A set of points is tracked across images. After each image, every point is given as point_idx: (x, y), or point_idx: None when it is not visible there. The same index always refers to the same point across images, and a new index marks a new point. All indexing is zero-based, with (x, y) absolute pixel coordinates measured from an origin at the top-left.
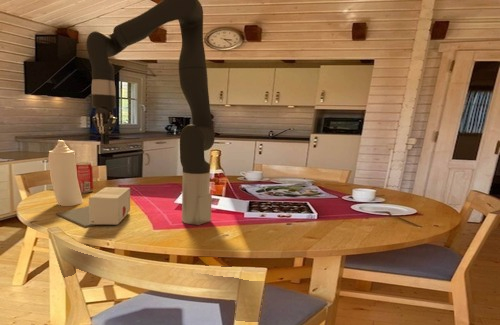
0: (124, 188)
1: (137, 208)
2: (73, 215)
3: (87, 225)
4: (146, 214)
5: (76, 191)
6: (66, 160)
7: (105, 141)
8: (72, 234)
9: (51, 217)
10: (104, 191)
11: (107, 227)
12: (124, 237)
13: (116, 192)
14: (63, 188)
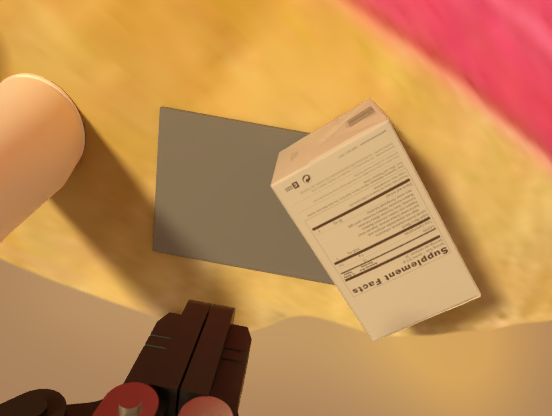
0: (378, 152)
1: (342, 15)
2: (228, 241)
3: None
4: (444, 67)
5: (52, 147)
6: None
7: (245, 373)
8: None
9: (175, 272)
10: (346, 252)
11: None
12: (527, 286)
13: (409, 236)
14: (36, 208)
